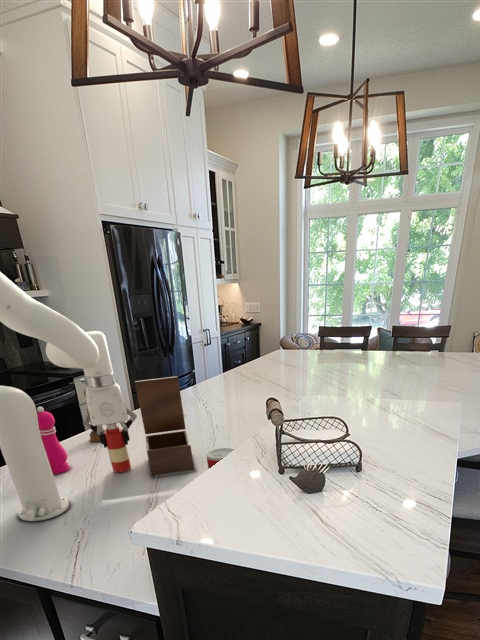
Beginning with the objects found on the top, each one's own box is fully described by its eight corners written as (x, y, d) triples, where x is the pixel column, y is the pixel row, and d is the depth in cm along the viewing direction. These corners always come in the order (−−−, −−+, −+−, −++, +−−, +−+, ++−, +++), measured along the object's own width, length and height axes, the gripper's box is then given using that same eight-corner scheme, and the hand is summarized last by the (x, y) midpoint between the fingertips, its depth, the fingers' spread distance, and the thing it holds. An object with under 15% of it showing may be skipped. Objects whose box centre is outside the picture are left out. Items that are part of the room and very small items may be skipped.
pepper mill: (63, 474, 146) (43, 409, 136) (42, 474, 148) (21, 410, 137) (75, 466, 152) (57, 403, 142) (55, 465, 154) (36, 403, 143)
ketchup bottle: (131, 470, 142) (120, 424, 134) (112, 473, 141) (100, 426, 134) (131, 464, 146) (120, 419, 139) (113, 466, 146) (101, 421, 138)
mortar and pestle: (112, 437, 176) (100, 387, 166) (99, 442, 171) (86, 391, 162) (100, 435, 179) (88, 386, 169) (87, 440, 174) (73, 390, 165)
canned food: (207, 490, 129) (202, 451, 124) (235, 483, 132) (231, 445, 126) (216, 500, 123) (211, 460, 117) (245, 493, 126) (241, 454, 120)
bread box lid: (177, 376, 140) (176, 373, 144) (134, 381, 138) (134, 377, 142) (185, 429, 149) (184, 424, 153) (145, 434, 147) (144, 429, 151)
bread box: (194, 471, 141) (190, 445, 137) (152, 478, 139) (146, 451, 135) (189, 455, 154) (185, 430, 150) (150, 460, 152) (145, 435, 148)
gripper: (67, 387, 126) (85, 453, 135) (132, 380, 128) (145, 444, 138) (70, 382, 132) (87, 444, 142) (132, 374, 134) (145, 437, 144)
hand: (116, 444), depth 140 cm, fingers closed on ketchup bottle, 5 cm apart
